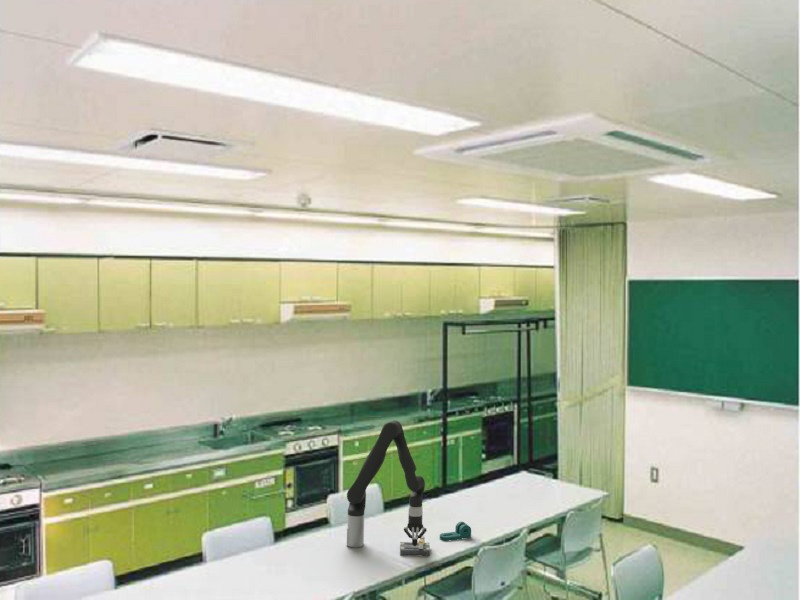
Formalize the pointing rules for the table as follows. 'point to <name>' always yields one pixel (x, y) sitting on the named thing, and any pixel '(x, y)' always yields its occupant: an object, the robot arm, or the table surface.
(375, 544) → the table surface
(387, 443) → the robot arm
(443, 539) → the bracket
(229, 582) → the table surface
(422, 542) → the block
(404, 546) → the panel
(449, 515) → the table surface
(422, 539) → the block
